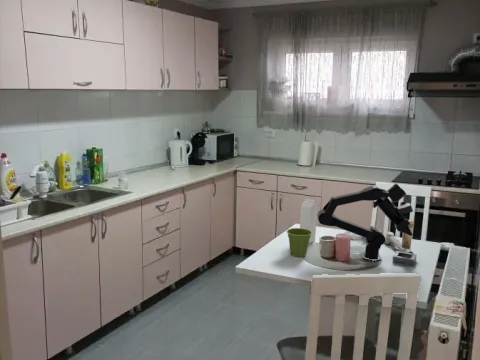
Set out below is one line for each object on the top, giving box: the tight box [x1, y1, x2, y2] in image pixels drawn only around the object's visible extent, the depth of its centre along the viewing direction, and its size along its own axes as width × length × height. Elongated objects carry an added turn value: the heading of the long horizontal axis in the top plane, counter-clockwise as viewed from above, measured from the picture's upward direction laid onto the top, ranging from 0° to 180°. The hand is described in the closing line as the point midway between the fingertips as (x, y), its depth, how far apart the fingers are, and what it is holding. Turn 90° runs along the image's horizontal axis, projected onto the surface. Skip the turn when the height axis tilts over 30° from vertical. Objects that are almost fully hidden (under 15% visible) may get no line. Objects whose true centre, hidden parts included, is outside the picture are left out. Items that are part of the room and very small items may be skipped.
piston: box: [401, 219, 415, 249], centre depth 214 cm, size 4×4×12 cm
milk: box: [299, 197, 318, 245], centre depth 239 cm, size 6×6×22 cm
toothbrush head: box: [384, 231, 415, 254], centre depth 233 cm, size 5×7×25 cm
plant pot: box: [286, 227, 312, 258], centre depth 219 cm, size 12×12×11 cm
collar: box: [392, 250, 418, 267], centre depth 216 cm, size 9×9×3 cm
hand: (410, 233), depth 214 cm, fingers closed on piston, 4 cm apart
